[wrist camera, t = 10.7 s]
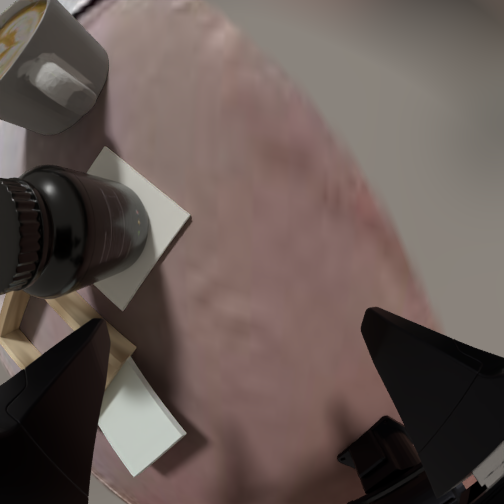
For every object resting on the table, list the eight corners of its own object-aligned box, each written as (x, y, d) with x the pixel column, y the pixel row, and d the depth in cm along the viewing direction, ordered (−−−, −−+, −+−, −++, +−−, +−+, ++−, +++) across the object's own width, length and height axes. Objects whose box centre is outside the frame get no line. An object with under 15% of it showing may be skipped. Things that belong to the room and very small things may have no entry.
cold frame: (136, 347, 21) (121, 363, 18) (93, 410, 22) (79, 426, 19) (41, 253, 20) (19, 256, 17) (12, 327, 21) (-6, 336, 18)
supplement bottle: (81, 277, 20) (-34, 316, 8) (73, 191, 19) (-46, 176, 8) (158, 270, 20) (50, 322, 8) (148, 174, 19) (35, 127, 7)
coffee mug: (19, 99, 19) (-44, 71, 9) (85, 29, 18) (35, -22, 8) (63, 183, 20) (-26, 168, 10) (147, 96, 19) (85, 28, 9)
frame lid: (197, 403, 21) (185, 437, 16) (150, 448, 22) (136, 478, 17) (125, 349, 21) (99, 374, 16) (90, 403, 21) (67, 428, 17)
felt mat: (191, 215, 20) (189, 215, 19) (124, 309, 21) (122, 311, 20) (107, 147, 19) (104, 146, 19) (52, 238, 20) (49, 238, 20)
